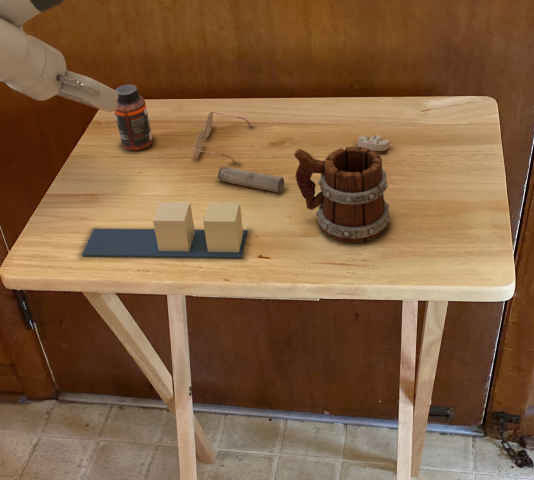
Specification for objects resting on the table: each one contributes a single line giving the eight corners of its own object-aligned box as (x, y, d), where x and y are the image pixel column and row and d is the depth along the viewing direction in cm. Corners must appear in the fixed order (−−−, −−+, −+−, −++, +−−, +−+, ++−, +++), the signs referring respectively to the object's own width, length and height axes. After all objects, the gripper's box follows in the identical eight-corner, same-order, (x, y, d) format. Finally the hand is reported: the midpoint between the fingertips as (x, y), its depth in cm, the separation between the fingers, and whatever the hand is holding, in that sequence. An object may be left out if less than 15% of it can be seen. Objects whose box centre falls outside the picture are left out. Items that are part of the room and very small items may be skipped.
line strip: (82, 256, 131) (81, 254, 131) (94, 230, 136) (93, 228, 136) (241, 258, 127) (241, 256, 127) (247, 231, 132) (247, 229, 132)
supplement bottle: (159, 140, 156) (149, 85, 149) (140, 154, 153) (128, 99, 145) (135, 133, 159) (124, 79, 151) (115, 147, 155) (103, 93, 148)
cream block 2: (207, 252, 129) (203, 221, 124) (213, 233, 132) (208, 202, 128) (239, 252, 128) (235, 221, 124) (243, 233, 132) (239, 202, 127)
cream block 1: (158, 251, 130) (152, 220, 126) (165, 232, 133) (159, 202, 129) (189, 251, 129) (184, 220, 125) (195, 232, 133) (190, 202, 129)
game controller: (389, 140, 150) (389, 128, 148) (388, 175, 142) (389, 162, 140) (358, 140, 151) (358, 128, 149) (355, 175, 142) (355, 162, 141)
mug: (390, 248, 126) (374, 165, 116) (302, 252, 131) (280, 172, 121) (400, 205, 134) (387, 124, 125) (317, 210, 139) (298, 133, 130)
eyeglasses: (212, 125, 159) (212, 106, 156) (253, 129, 158) (252, 111, 155) (194, 163, 149) (192, 144, 146) (236, 168, 148) (236, 149, 145)
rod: (285, 187, 141) (284, 174, 139) (279, 196, 139) (277, 182, 138) (225, 176, 145) (223, 163, 144) (218, 184, 144) (216, 171, 142)
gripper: (90, 65, 126) (144, 96, 138) (4, 39, 136) (61, 70, 148) (76, 104, 127) (131, 131, 139) (-9, 75, 136) (49, 103, 148)
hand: (94, 100), depth 143 cm, fingers open, 8 cm apart
